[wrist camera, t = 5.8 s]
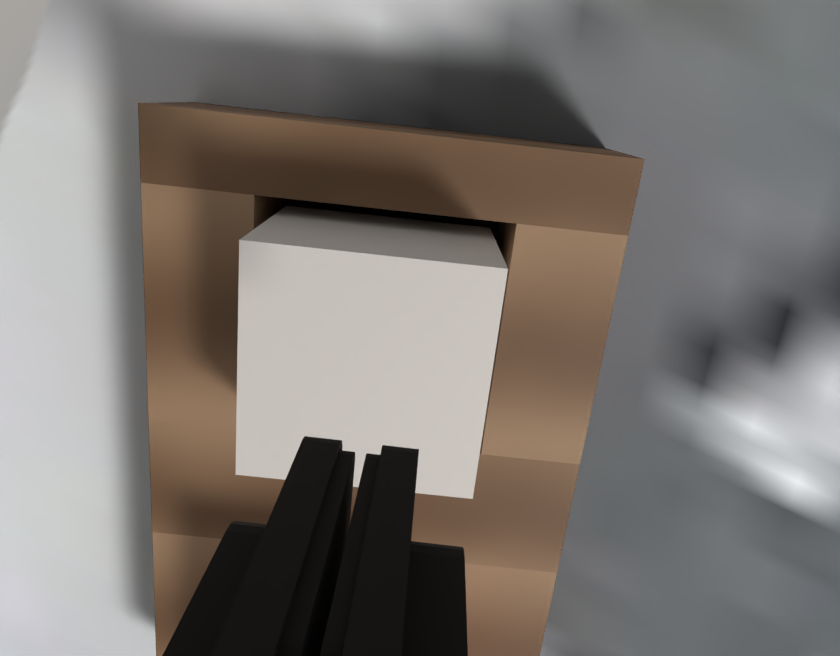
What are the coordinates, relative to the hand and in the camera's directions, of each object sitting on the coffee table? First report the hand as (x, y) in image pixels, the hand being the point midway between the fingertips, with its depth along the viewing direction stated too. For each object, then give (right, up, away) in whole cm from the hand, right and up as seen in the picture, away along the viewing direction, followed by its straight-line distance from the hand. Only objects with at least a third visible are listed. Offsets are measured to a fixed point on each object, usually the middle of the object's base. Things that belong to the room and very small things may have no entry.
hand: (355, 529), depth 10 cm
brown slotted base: (-1, -1, +15) cm, 15 cm away
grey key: (0, +3, +11) cm, 11 cm away
